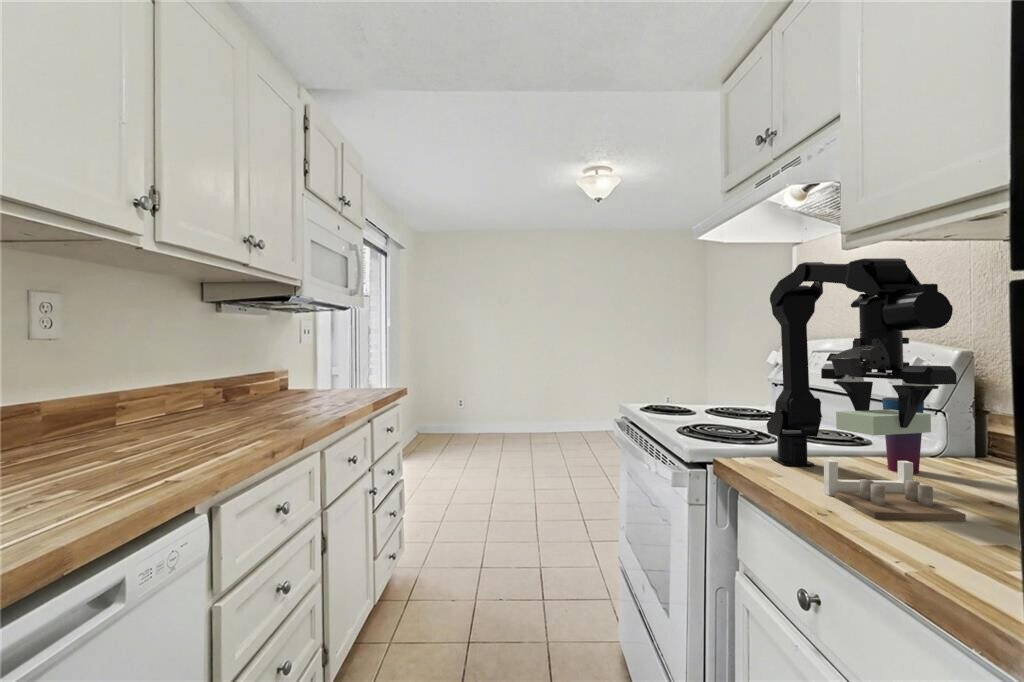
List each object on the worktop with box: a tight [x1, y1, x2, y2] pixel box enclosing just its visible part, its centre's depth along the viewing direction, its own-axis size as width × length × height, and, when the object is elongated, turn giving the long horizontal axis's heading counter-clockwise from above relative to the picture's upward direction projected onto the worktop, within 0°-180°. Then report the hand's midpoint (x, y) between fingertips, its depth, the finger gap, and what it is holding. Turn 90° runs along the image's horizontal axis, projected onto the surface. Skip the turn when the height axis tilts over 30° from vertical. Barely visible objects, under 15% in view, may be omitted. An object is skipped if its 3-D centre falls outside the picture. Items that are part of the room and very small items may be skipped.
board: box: [835, 409, 932, 436], centre depth 79 cm, size 12×6×3 cm, turn 104°
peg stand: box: [834, 478, 967, 522], centre depth 76 cm, size 10×13×4 cm
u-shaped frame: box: [823, 459, 914, 497], centre depth 83 cm, size 2×14×6 cm, turn 86°
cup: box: [881, 396, 925, 475], centre depth 99 cm, size 7×7×15 cm
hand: (882, 424), depth 79 cm, fingers closed on board, 6 cm apart
